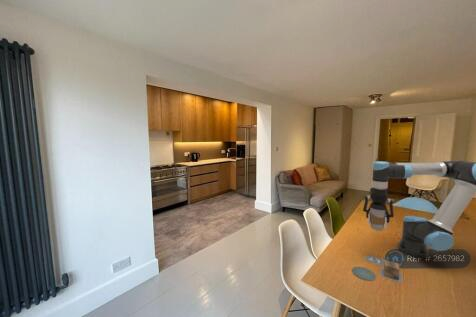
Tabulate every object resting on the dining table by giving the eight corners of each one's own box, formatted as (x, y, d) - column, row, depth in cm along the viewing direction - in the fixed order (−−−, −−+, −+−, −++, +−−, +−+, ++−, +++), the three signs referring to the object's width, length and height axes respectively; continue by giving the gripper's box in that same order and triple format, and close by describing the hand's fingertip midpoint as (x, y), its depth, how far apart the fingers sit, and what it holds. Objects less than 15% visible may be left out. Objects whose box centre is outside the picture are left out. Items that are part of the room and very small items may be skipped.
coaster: (377, 273, 111) (377, 272, 111) (373, 284, 103) (373, 283, 103) (354, 265, 118) (355, 264, 118) (349, 274, 110) (349, 273, 110)
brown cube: (397, 273, 110) (398, 263, 110) (398, 280, 105) (399, 269, 105) (383, 269, 113) (384, 259, 113) (384, 276, 109) (385, 265, 108)
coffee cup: (365, 225, 125) (366, 202, 123) (378, 225, 125) (379, 201, 124) (375, 232, 116) (377, 206, 115) (389, 231, 117) (390, 206, 116)
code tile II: (402, 275, 110) (402, 274, 110) (400, 283, 103) (400, 283, 103) (382, 267, 116) (382, 267, 116) (379, 275, 109) (379, 275, 109)
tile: (385, 260, 123) (385, 259, 123) (382, 267, 116) (382, 266, 116) (367, 254, 129) (367, 254, 129) (364, 260, 123) (364, 260, 123)
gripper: (402, 189, 114) (399, 228, 116) (361, 184, 128) (359, 219, 130) (401, 192, 109) (398, 233, 111) (358, 186, 123) (356, 222, 125)
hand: (377, 225), depth 121 cm, fingers closed on coffee cup, 7 cm apart
